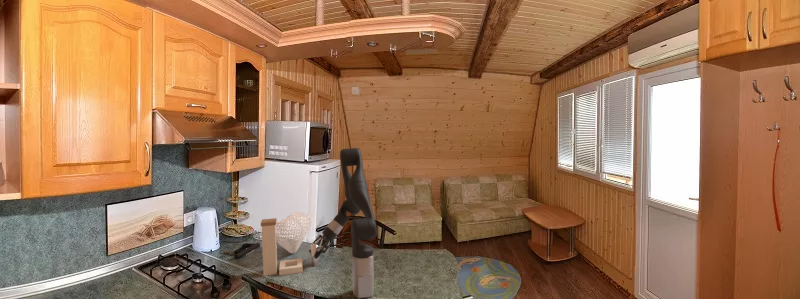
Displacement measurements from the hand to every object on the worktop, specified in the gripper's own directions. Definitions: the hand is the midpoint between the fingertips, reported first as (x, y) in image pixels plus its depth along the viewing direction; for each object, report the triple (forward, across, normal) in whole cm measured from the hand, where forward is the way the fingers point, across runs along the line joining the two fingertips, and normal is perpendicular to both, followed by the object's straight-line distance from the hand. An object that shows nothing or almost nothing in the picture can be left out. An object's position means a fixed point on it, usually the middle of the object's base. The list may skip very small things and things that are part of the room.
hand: (312, 255), depth 168 cm
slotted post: (+14, -2, -7) cm, 16 cm away
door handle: (+26, -42, -17) cm, 52 cm away
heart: (+7, -23, +1) cm, 24 cm away
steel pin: (+3, 0, +5) cm, 6 cm away
